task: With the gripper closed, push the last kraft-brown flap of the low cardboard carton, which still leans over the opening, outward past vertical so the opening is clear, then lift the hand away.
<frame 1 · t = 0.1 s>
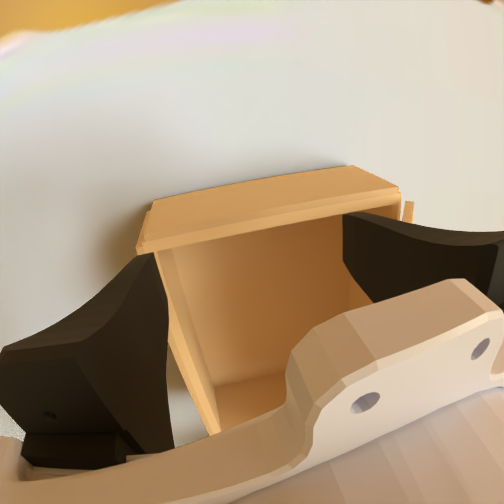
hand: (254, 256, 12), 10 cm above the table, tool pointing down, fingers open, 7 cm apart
carton: (271, 296, 25), on the table
carton flap: (387, 356, 18), point 9 cm above the table, hinge at 50.0°
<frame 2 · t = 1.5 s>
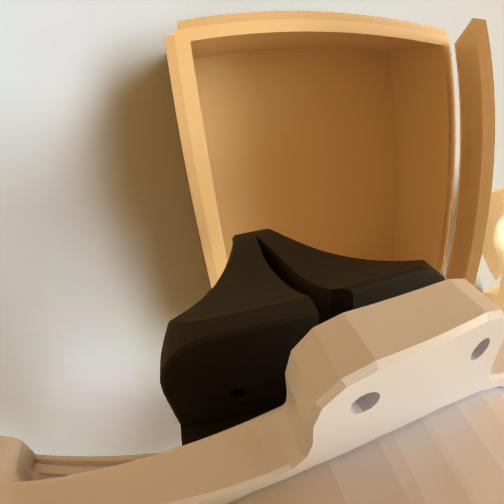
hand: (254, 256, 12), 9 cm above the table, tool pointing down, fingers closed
carton: (310, 178, 20), on the table
carton flap: (468, 213, 13), point 9 cm above the table, hinge at 50.0°
letter: (480, 267, 28), on the table
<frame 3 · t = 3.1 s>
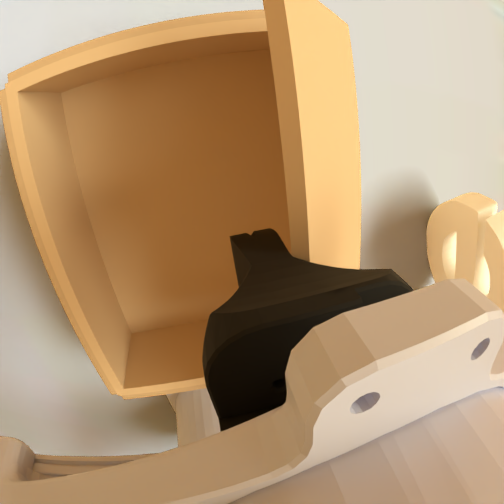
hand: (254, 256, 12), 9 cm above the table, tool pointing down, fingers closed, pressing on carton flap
carton: (192, 201, 19), on the table
carton flap: (336, 248, 12), point 9 cm above the table, hinge at 50.5°, touching gripper
letter: (433, 288, 27), on the table
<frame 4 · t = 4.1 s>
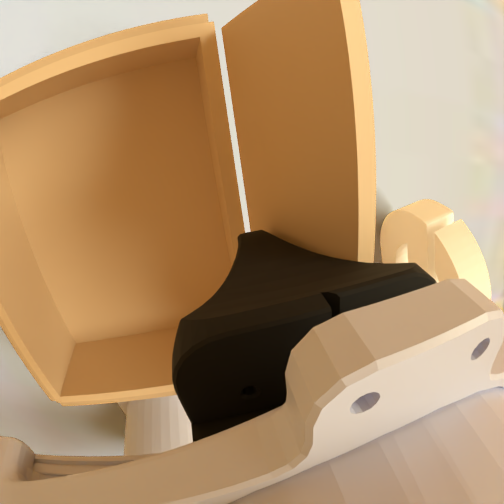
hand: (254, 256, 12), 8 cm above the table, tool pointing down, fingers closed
carton: (116, 218, 19), on the table
carton flap: (297, 267, 11), point 10 cm above the table, hinge at 101.3°, touching gripper
letter: (394, 301, 27), on the table
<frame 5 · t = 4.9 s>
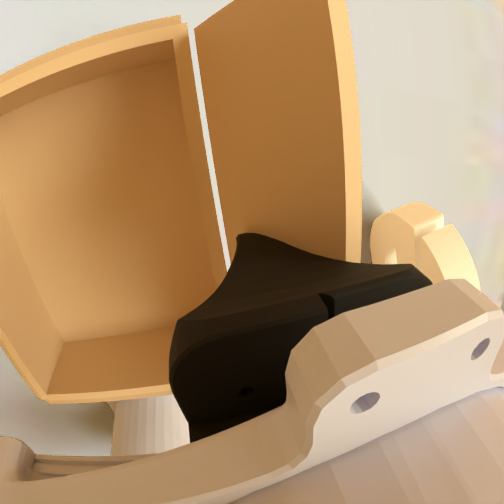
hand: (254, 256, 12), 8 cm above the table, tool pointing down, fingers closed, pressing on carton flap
carton: (101, 220, 18), on the table
carton flap: (277, 269, 11), point 10 cm above the table, hinge at 108.7°, touching gripper
letter: (386, 305, 26), on the table
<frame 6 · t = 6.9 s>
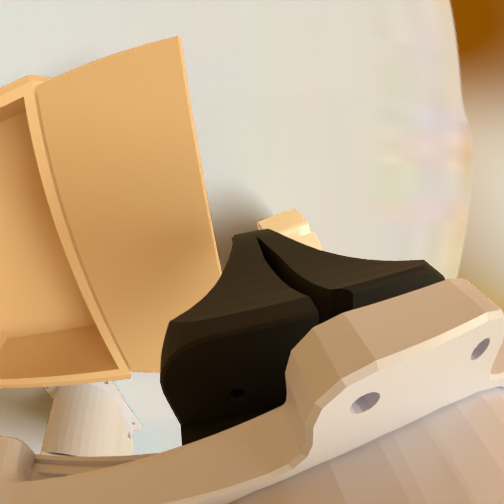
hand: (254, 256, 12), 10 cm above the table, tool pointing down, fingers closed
carton: (21, 235, 19), on the table
carton flap: (140, 242, 15), point 7 cm above the table, hinge at 167.6°
letter: (298, 312, 27), on the table
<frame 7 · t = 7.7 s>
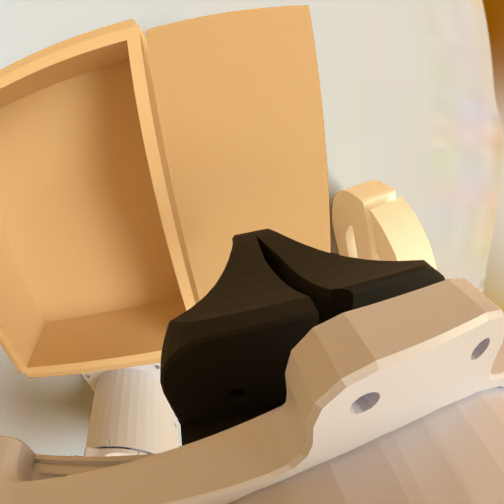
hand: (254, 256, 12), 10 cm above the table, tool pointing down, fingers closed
carton: (77, 204, 19), on the table
carton flap: (252, 198, 15), point 7 cm above the table, hinge at 168.0°
letter: (356, 288, 27), on the table
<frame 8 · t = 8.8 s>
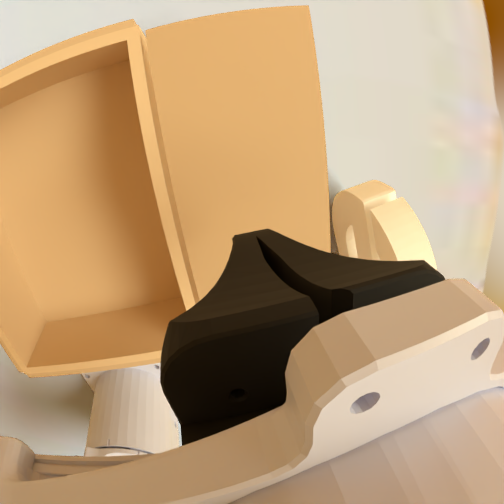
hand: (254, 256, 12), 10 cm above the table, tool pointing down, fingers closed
carton: (77, 204, 19), on the table
carton flap: (252, 198, 15), point 7 cm above the table, hinge at 168.1°
letter: (356, 288, 27), on the table
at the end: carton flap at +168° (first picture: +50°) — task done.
